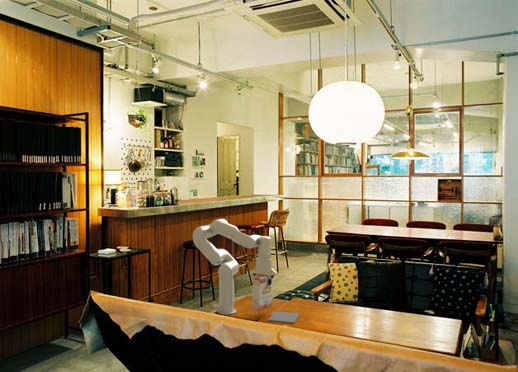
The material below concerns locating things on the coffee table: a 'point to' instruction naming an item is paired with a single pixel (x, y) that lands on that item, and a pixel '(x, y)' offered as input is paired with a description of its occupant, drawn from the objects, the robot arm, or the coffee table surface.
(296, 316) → the slate mat
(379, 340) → the coffee table surface
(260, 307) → the cracker box
